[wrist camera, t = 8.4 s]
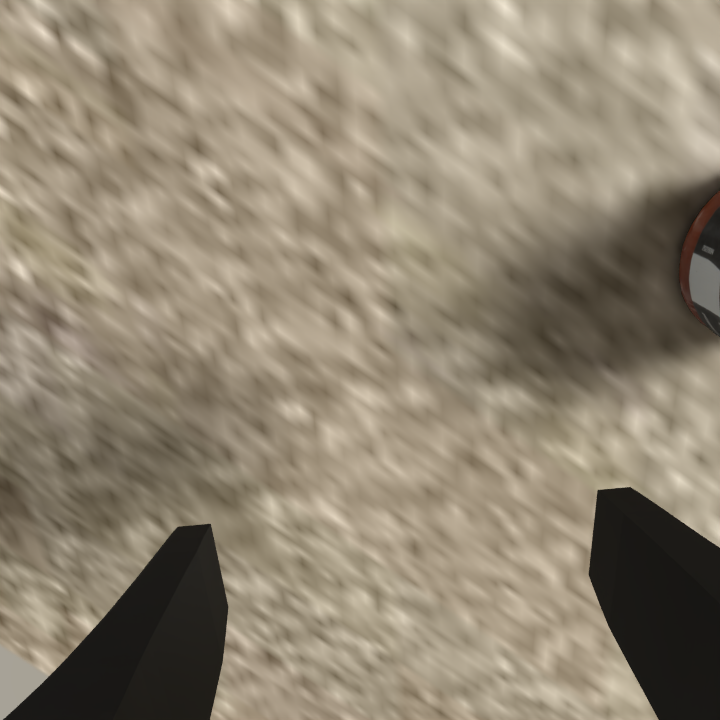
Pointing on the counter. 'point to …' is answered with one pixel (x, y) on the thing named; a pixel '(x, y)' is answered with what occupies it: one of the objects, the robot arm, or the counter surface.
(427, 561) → the counter surface
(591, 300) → the counter surface
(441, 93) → the counter surface
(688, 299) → the supplement bottle
